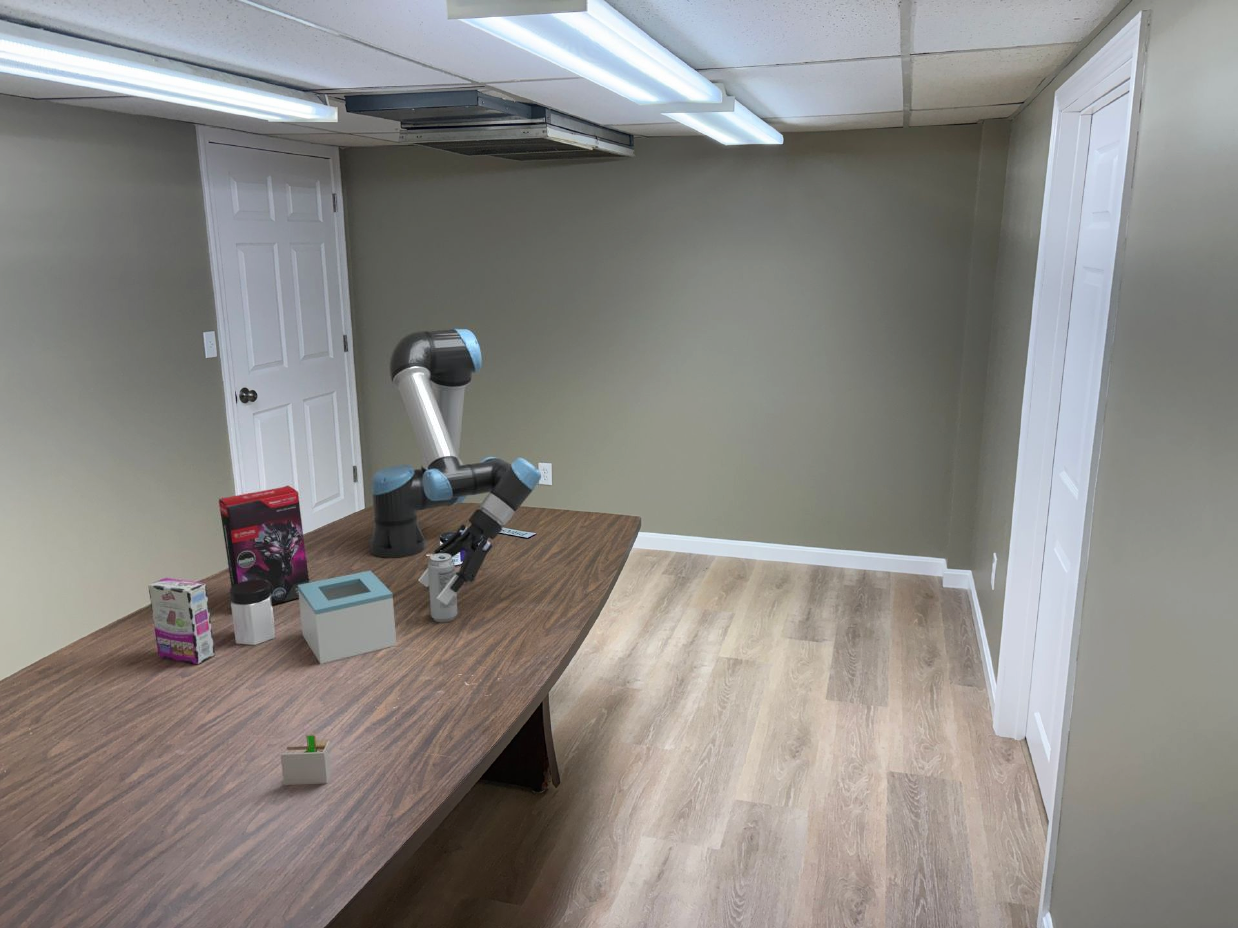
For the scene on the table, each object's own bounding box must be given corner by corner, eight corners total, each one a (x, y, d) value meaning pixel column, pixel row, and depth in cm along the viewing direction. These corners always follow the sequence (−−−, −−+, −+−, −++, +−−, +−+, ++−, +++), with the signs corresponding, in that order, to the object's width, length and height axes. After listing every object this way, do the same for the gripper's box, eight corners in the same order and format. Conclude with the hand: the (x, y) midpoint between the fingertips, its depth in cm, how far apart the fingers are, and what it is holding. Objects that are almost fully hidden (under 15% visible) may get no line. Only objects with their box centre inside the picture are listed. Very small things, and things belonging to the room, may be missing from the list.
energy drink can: (448, 610, 206) (444, 550, 203) (462, 617, 202) (459, 556, 199) (426, 617, 202) (422, 556, 199) (440, 625, 198) (436, 563, 194)
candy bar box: (216, 655, 185) (207, 582, 181) (198, 665, 180) (188, 591, 176) (176, 647, 188) (166, 576, 184) (157, 657, 184) (146, 584, 180)
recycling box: (302, 635, 194) (297, 585, 191) (374, 619, 202) (370, 570, 199) (320, 663, 180) (315, 610, 177) (396, 645, 189) (392, 593, 186)
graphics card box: (240, 615, 204) (226, 504, 198) (230, 606, 209) (216, 497, 203) (311, 596, 215) (301, 490, 209) (300, 588, 220) (289, 484, 214)
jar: (275, 642, 190) (269, 591, 187) (234, 648, 188) (228, 596, 185) (275, 626, 199) (270, 576, 196) (237, 631, 196) (230, 581, 193)
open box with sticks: (291, 772, 144) (286, 729, 142) (333, 770, 144) (329, 727, 142) (284, 787, 140) (279, 742, 138) (327, 785, 141) (322, 741, 139)
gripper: (524, 540, 195) (463, 618, 191) (481, 513, 215) (425, 584, 211) (501, 521, 191) (439, 601, 187) (460, 495, 211) (402, 567, 207)
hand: (431, 592), depth 199 cm, fingers open, 12 cm apart
